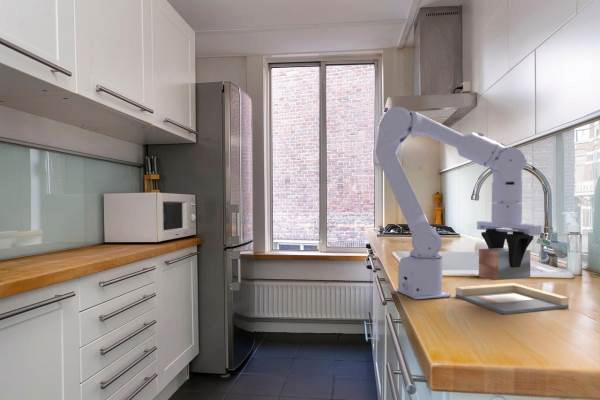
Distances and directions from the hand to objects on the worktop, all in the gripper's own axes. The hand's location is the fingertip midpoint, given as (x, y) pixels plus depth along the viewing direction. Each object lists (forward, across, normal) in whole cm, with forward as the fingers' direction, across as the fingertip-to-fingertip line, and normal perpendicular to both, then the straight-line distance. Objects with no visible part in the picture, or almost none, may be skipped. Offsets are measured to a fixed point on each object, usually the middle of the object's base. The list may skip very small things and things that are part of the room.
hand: (505, 265), depth 75 cm
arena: (+8, 0, 0) cm, 8 cm away
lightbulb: (+8, +22, -16) cm, 28 cm away
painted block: (+3, 0, 0) cm, 3 cm away
